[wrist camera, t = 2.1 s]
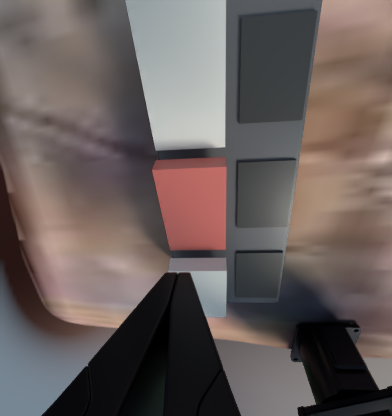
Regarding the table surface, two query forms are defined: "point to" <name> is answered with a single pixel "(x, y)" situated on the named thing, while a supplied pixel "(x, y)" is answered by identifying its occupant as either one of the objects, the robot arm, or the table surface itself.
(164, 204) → the red block
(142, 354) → the robot arm
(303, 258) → the table surface
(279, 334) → the table surface
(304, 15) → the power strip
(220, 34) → the white rectangular block
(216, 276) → the block
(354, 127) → the table surface
